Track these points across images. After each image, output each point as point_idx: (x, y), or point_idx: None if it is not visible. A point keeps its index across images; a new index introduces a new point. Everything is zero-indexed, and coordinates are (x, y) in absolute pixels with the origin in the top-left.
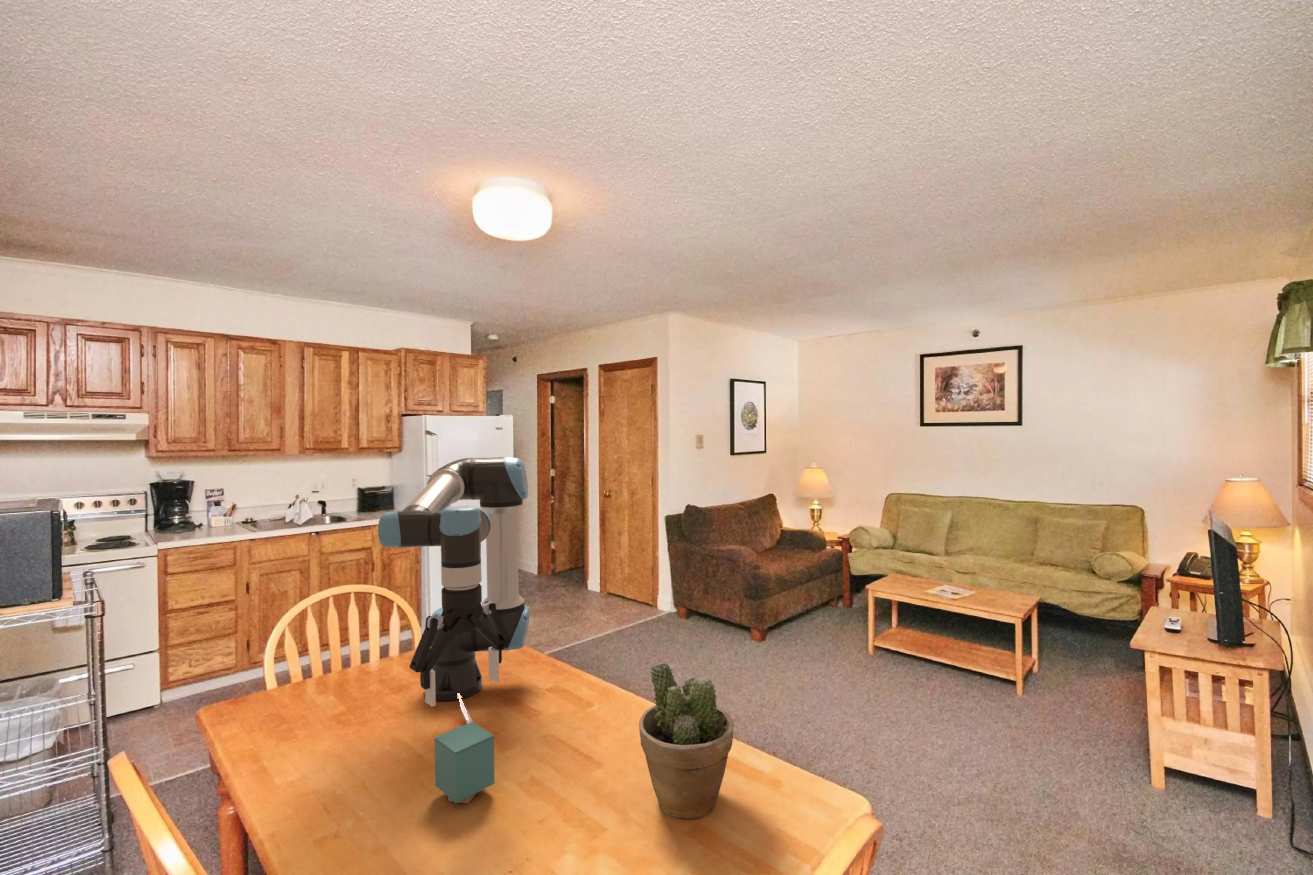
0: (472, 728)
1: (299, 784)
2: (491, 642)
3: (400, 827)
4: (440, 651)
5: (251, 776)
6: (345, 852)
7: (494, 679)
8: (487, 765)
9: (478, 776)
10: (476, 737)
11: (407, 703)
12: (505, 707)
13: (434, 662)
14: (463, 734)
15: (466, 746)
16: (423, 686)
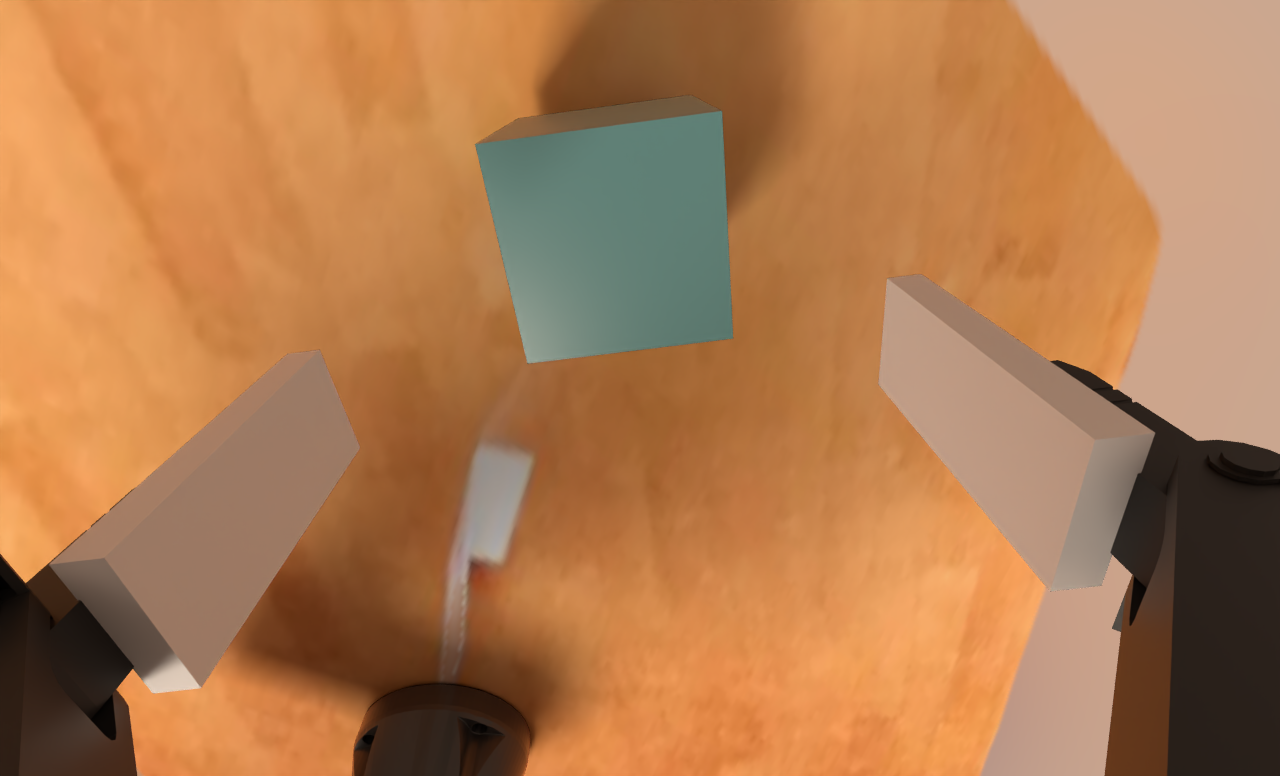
0: (550, 300)
1: (945, 540)
2: (64, 717)
3: (856, 156)
4: (1241, 708)
5: (1000, 627)
6: (1028, 147)
7: (318, 378)
8: (538, 122)
9: (587, 113)
10: (565, 193)
11: (585, 728)
12: (327, 582)
13: (1200, 538)
14: (611, 270)
15: (647, 132)
16: (1093, 381)
